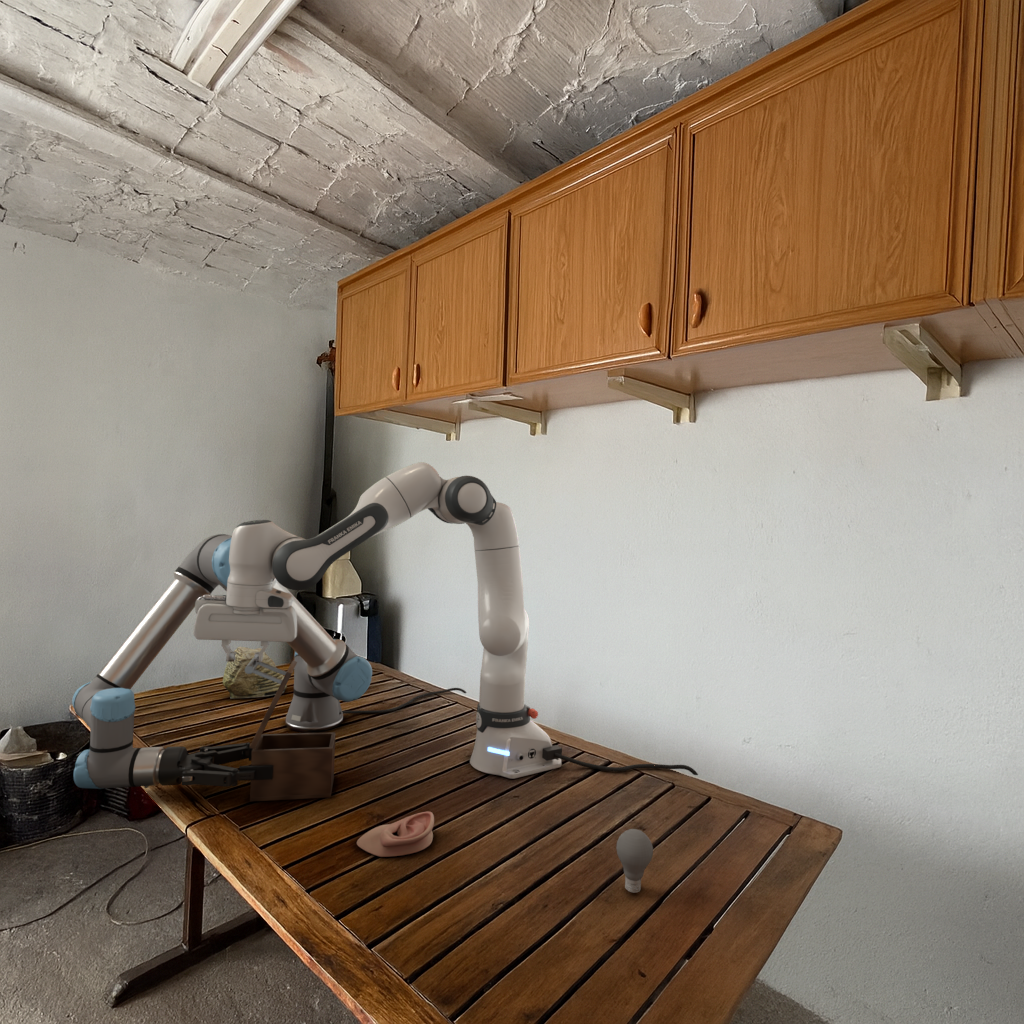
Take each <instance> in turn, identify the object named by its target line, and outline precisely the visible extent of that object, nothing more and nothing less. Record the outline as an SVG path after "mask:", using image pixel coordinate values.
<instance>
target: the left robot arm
mask: <svg viewBox="0 0 1024 1024" xmlns="http://www.w3.org/2000/svg"><path fill="white" fill-rule="evenodd" d="M231 538H232V534H231V535H230V534H225V533H218V534H213V535H210V536H208V537H206V538H204V539H202V540H201V541H200V542H199V543H197V545H195V546H194V548H193V549H192V550H191V551H190V552H189V553H188V554H187V556H186V557H185V558H184V560H182V561H181V563H180V564H179V565H178V567H177V568H176V569H175V570H174V571H173V580H172V581H171V582H170V584H169V585H168V586H167V588H165V590H164V591H163V592H162V594H161V595H160V596H159V598H157V600H156V601H155V602H154V603H153V605H152V606H151V608H150V609H149V610H148V611H147V613H146V614H144V616H143V617H142V618H141V620H140V621H139V622H138V624H137V625H136V626H135V627H134V629H133V630H132V631H131V632H130V634H129V635H128V636H127V637H126V639H124V641H123V642H122V644H121V645H119V647H118V649H117V650H116V651H115V652H114V654H112V656H111V657H110V658H109V659H108V661H107V662H106V663H105V664H104V666H103V667H102V668H101V669H100V671H99V672H98V673H97V674H96V675H95V677H94V678H93V679H92V680H91V681H89V682H86V683H84V684H83V685H80V686H79V687H78V688H77V689H76V690H75V692H74V693H73V696H72V700H71V704H72V708H73V710H74V712H75V714H76V715H77V716H78V717H79V718H80V719H82V720H83V722H84V723H85V724H86V725H87V727H88V728H89V729H90V735H89V736H90V738H89V740H90V741H89V748H88V749H84V750H83V751H81V752H80V753H79V755H78V756H77V758H76V760H75V763H74V769H73V781H74V784H75V786H77V787H78V788H80V789H97V790H104V789H117V788H136V787H138V788H141V787H144V789H148V788H150V787H157V786H159V785H160V786H162V787H165V786H166V787H167V786H179V785H181V786H191V785H193V786H194V785H196V786H210V787H211V786H212V787H224V788H228V787H237V786H238V784H239V783H238V782H241V781H242V782H243V781H245V782H246V781H251V780H270V779H272V778H273V765H258V766H251V765H239V767H238V768H236V767H232V766H226V765H225V764H230V763H233V762H239V761H243V760H247V759H248V761H250V762H251V758H252V750H253V749H252V748H250V745H251V742H241V743H233V744H226V745H225V744H224V745H216V746H201V747H199V751H198V752H195V753H188V749H187V747H186V746H167V747H164V746H149V747H146V746H145V747H134V727H135V711H136V703H135V702H136V701H135V692H134V691H133V690H132V688H133V687H134V685H136V684H137V682H138V680H139V679H140V678H141V677H142V675H143V674H144V673H145V671H146V670H147V668H149V666H150V665H151V664H152V663H153V661H154V660H155V659H156V657H157V656H158V654H160V652H161V651H162V650H163V649H164V647H165V645H167V643H168V642H169V641H170V640H171V638H172V637H173V636H174V634H175V633H176V632H177V631H178V629H179V628H180V627H181V625H182V624H183V623H184V622H185V620H186V619H187V618H188V617H189V615H190V614H191V613H192V611H194V610H195V603H196V600H197V599H198V598H199V597H202V596H204V595H206V594H209V595H212V593H213V592H214V590H215V589H216V588H217V587H218V586H220V587H221V588H222V589H223V590H224V591H225V592H226V593H227V580H228V577H229V574H230V564H229V552H230V544H231ZM272 588H275V589H278V590H281V591H283V592H286V593H289V594H292V592H291V591H290V589H288V588H286V587H284V586H282V585H281V584H280V583H279V582H278V581H277V580H276V578H274V579H273V581H272ZM291 606H292V607H293V608H294V609H295V611H296V616H297V636H296V638H295V639H294V640H293V641H292V642H286V644H287V645H288V646H289V647H290V648H291V649H292V650H293V651H294V655H293V657H294V661H296V662H297V664H296V666H295V668H294V670H293V695H292V696H293V697H292V699H291V702H290V704H289V708H288V711H287V713H286V715H285V726H286V728H287V729H289V730H291V731H294V732H295V731H296V732H300V733H319V732H325V731H329V730H332V729H335V728H337V727H339V726H340V725H342V723H343V722H344V715H347V714H349V715H350V714H351V715H352V714H353V715H355V714H384V713H390V712H394V711H397V710H400V709H402V708H404V707H407V706H408V705H411V704H412V703H413V702H415V701H417V700H418V699H421V698H424V697H428V696H431V695H440V694H445V693H448V692H453V691H458V692H462V693H463V694H467V693H468V692H467V691H466V690H465V689H463V688H460V687H451V688H447V689H442V690H438V691H432V692H426V693H423V694H419V695H417V696H414V697H413V698H411V699H410V700H408V701H407V702H404V703H402V704H400V705H397V706H395V707H392V708H387V709H378V710H343V709H342V706H341V702H340V701H342V702H345V703H350V702H353V701H354V702H355V701H357V700H358V699H360V698H361V697H362V696H364V694H365V693H366V692H367V691H368V690H369V687H370V685H371V683H372V676H373V667H372V665H371V663H370V662H369V661H368V660H367V659H366V658H365V657H364V656H361V655H360V656H359V655H357V654H356V653H355V652H354V651H353V649H351V648H350V647H349V645H348V644H347V643H346V642H345V641H344V640H342V639H338V638H333V637H332V636H331V635H330V634H329V633H328V632H327V631H326V629H325V628H324V627H323V626H322V625H321V624H320V622H318V621H317V620H316V619H315V618H314V617H313V615H312V614H311V613H310V612H309V611H308V610H307V609H306V607H304V605H303V604H302V603H301V602H300V601H299V600H298V599H297V598H296V597H295V596H294V595H293V603H292V605H291Z"/></svg>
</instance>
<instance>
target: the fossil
mask: <svg viewBox="0 0 1024 1024" xmlns="http://www.w3.org/2000/svg"><path fill="white" fill-rule="evenodd" d="M261 650H262V647H261V648H260V647H258V648H251V647H247V646H246V647H245V646H238V647H237V648H236V649H235V650H233V652H236V655H235V661H226V662H227V663H226V666H225V668H224V671H223V675H222V676H223V677H222V685H223V687H224V688H225V690H226V691H228V693H229V698H230V699H250V698H264V697H271V696H275V694H276V692H277V690H278V688H279V686H280V684H279V683H277V682H274V681H272V680H269V679H267V678H264V677H262V676H259V675H257V674H254V673H251V674H247V673H245V667H246V666H247V665H248V664H249V662H250V661H251V660H252V658H254V654H255V653H256V652H260V651H261ZM262 662H264V663H266V664H268V665H271V666H273V667H276V668H277V665H276V663H275V662H274V660H273V659H272V658H271V657H270V656H269V655H268V654H267V653H266V652H265V651H264V653H263V660H262ZM256 670H258V671H261V672H263V673H266V674H268V675H271V676H273V677H276V678H278V679H281V680H283V678H284V676H285V675H282V674H280V673H277V672H275V671H272V670H270V669H267V668H265V667H263V666H260V665H258V666H257V667H256ZM287 687H288V686H287V684H286V686H285V688H284V690H283V692H282V694H284V693H285V691H286V689H287Z"/></svg>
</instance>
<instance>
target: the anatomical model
mask: <svg viewBox="0 0 1024 1024" xmlns="http://www.w3.org/2000/svg"><path fill="white" fill-rule="evenodd" d="M434 826H435V815H434V814H433V812H431V811H422V812H418V813H415V814H411V815H409V816H406V817H404V818H402V819H399V820H397V821H395V822H392V823H389V824H388V823H387V824H382V825H378V826H376V827H374V828H372V829H370V830H368V831H367V832H365V833H364V834H363V835H361V836H360V837H359V838H358V839H357V841H356V845H357V847H359V848H360V849H362V850H363V851H365V852H366V853H369V854H371V855H373V856H375V857H376V856H377V857H380V858H385V857H386V858H387V857H397V856H405V855H410V854H414V853H418V852H420V851H423V850H425V849H427V848H428V847H430V845H431V844H432V842H433V838H434V834H433V829H434Z"/></svg>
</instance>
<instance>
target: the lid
mask: <svg viewBox="0 0 1024 1024" xmlns="http://www.w3.org/2000/svg"><path fill="white" fill-rule="evenodd" d="M254 659H255V658H252V660H251V661H250V662H249V664H248V665H247V666H246V667H245V673H247V674H251V673H254V674H257V675H259V676H262V677H264V678H267V679H269V680H272V681H274V682H277V683H279V684H280V686H279V688H278V690H277V692H276V694H275V695H274V697H273V698H272V701H271V703H270V705H269V706H268V709H267V711H266V713H265V715H264V717H263V719H262V721H261V723H260V725H259V727H258V729H257V731H256V733H255V735H254V737H253V739H252V741H251V742H250V748H252V749H255V747H256V745H257V743H258V741H259V739H260V737H261V735H262V734H263V733H264V730H265V729H266V727H267V725H268V723H269V721H270V718H271V717H272V715H273V712H274V710H275V709H276V707H277V705H278V703H279V701H280V698H281V697H282V694H283V693H284V692H283V690H284V688H285V686H286V685H287V684H288V682H289V680H290V678H291V676H292V674H293V673H294V668H295V666H296V664H297V662H296V661H295V660H292V661H291V662H290V665H289V667H288V669H287V670H284V669H280V668H278V667H277V666H276V667H273V666H271V665H268V664H266V663H264V662H254ZM258 665H260V666H263V667H265V668H267V669H270V670H272V671H275V672H277V673H280V674H282V675H283V676H284V678H283V680H281V679H278V678H276V677H273V676H271V675H268V674H266V673H263V672H261V671H258V670H256V667H257V666H258ZM282 692H283V693H282Z"/></svg>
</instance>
